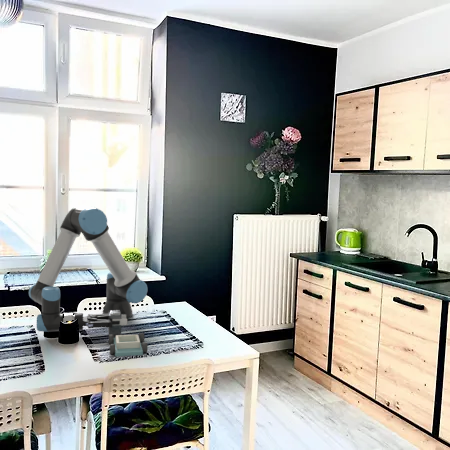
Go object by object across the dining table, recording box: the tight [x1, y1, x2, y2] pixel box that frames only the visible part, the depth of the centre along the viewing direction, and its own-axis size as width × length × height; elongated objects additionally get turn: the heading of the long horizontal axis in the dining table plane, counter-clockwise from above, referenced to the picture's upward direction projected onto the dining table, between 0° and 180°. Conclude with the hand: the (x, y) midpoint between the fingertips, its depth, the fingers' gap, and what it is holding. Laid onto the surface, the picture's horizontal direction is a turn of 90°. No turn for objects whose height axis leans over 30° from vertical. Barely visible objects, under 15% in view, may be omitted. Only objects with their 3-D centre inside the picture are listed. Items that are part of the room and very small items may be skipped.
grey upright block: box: [107, 310, 122, 336], centre depth 217 cm, size 6×6×10 cm
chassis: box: [108, 332, 149, 357], centre depth 201 cm, size 18×15×4 cm
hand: (126, 319), depth 219 cm, fingers closed on grey upright block, 5 cm apart
